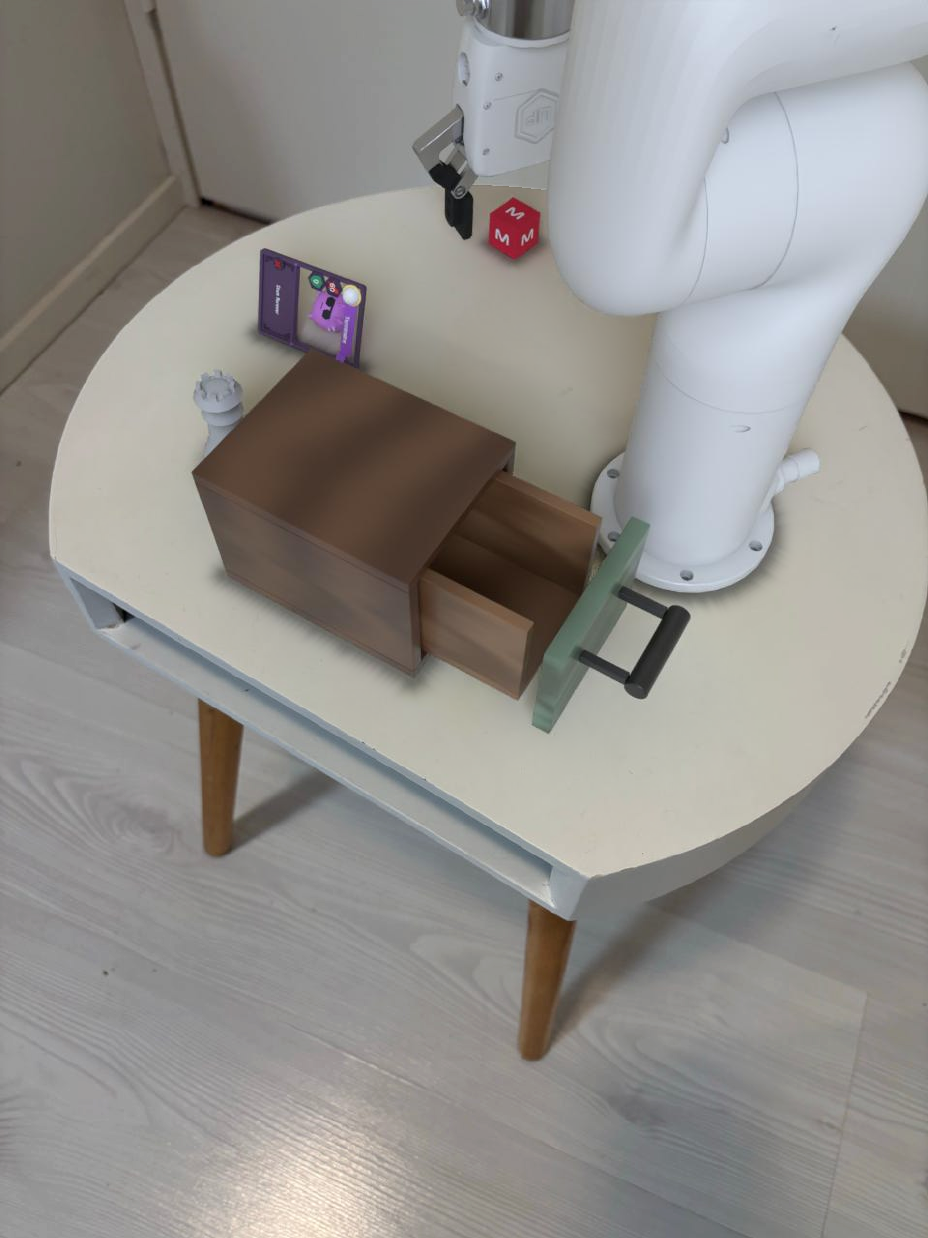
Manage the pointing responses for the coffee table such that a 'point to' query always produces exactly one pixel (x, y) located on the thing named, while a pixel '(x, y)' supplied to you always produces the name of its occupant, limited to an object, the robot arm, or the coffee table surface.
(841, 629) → the coffee table surface
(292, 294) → the game card
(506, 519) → the drawer
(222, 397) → the rook chess piece
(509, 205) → the red letter cube
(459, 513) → the cabinet
